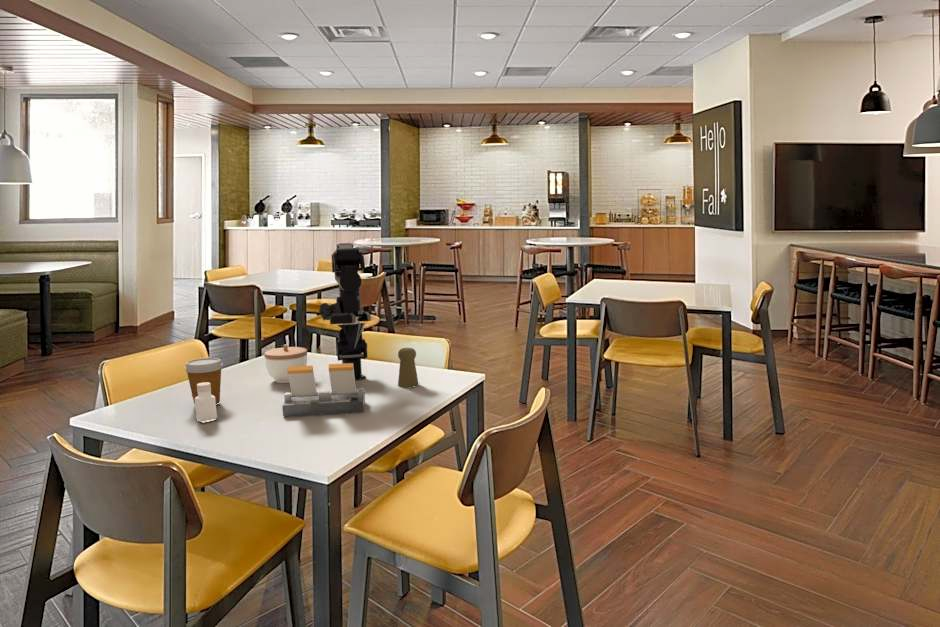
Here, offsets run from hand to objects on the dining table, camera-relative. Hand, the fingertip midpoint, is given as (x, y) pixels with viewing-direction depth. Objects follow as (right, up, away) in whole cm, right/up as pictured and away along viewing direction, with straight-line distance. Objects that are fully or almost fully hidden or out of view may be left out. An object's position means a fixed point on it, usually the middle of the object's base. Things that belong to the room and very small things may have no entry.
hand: (352, 348), depth 187 cm
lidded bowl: (-23, -11, +18) cm, 31 cm away
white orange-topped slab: (-10, -11, -15) cm, 21 cm away
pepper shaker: (+15, -11, +9) cm, 21 cm away
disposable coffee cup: (-38, -15, -6) cm, 41 cm away
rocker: (0, -11, -14) cm, 17 cm away
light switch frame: (-5, -15, -13) cm, 21 cm away
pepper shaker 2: (-33, -17, -20) cm, 42 cm away
